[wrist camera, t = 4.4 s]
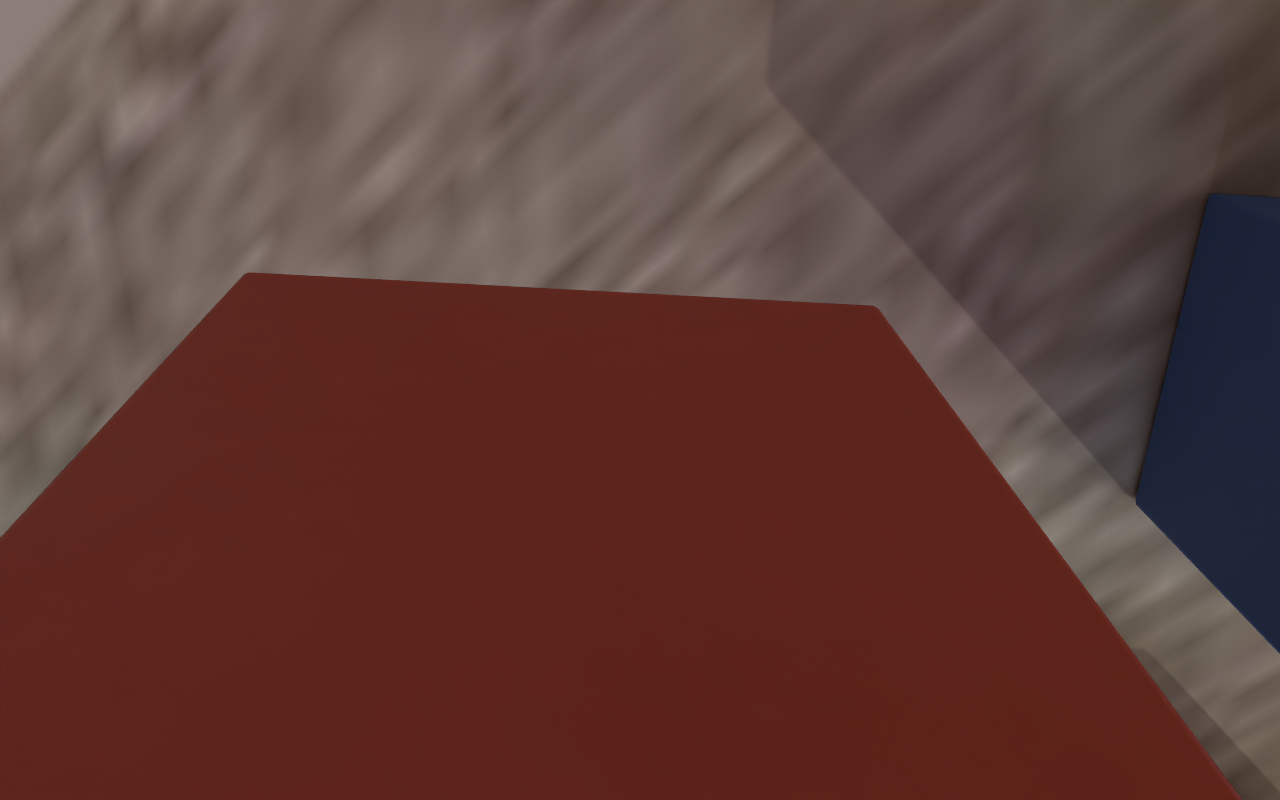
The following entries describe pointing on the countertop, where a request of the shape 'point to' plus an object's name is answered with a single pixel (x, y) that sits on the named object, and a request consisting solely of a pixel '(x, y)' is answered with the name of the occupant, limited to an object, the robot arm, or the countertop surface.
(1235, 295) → the blue block
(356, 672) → the red block
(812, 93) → the countertop surface
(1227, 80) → the countertop surface
